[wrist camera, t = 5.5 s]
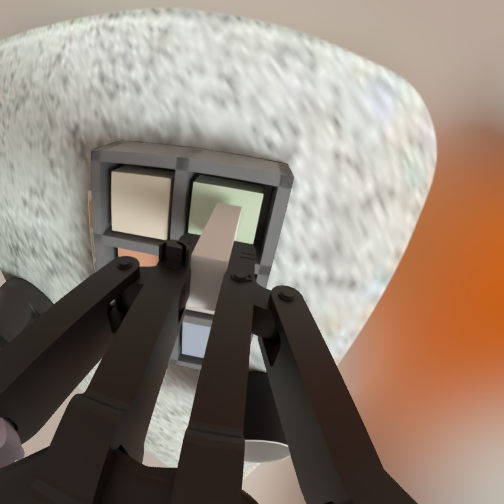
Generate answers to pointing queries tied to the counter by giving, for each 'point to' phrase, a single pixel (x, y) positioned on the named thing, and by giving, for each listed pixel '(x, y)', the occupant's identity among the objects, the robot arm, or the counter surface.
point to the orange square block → (140, 257)
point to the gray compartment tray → (185, 207)
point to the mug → (262, 423)
